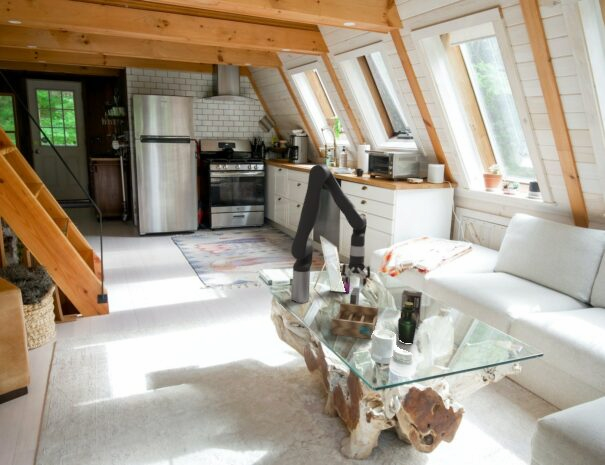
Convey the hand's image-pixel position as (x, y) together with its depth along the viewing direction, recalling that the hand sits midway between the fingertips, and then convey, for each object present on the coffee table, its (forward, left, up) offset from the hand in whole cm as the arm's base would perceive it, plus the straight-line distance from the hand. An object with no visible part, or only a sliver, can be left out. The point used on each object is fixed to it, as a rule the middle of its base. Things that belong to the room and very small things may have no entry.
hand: (355, 284), depth 249 cm
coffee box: (+29, -11, -14) cm, 34 cm away
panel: (0, 0, -14) cm, 14 cm away
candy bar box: (-12, +26, -14) cm, 32 cm away
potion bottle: (+28, -32, -14) cm, 45 cm away
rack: (+4, -23, -14) cm, 27 cm away
